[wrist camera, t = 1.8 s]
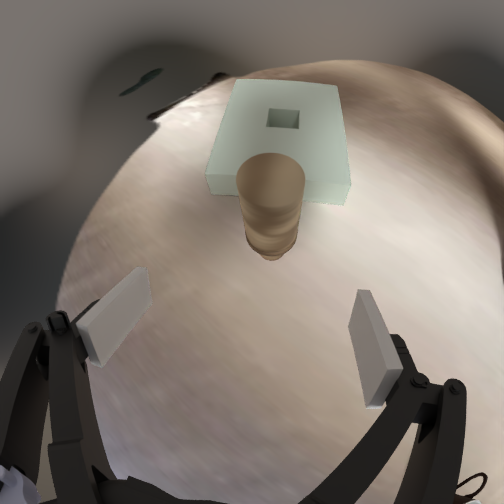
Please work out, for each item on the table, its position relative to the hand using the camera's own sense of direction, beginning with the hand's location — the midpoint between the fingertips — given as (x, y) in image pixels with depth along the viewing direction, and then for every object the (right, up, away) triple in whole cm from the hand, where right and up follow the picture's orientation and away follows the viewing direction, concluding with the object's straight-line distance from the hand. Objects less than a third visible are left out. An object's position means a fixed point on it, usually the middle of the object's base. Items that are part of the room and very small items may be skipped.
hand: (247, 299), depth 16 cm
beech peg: (+3, +3, +20) cm, 21 cm away
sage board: (+6, +23, +28) cm, 37 cm away
